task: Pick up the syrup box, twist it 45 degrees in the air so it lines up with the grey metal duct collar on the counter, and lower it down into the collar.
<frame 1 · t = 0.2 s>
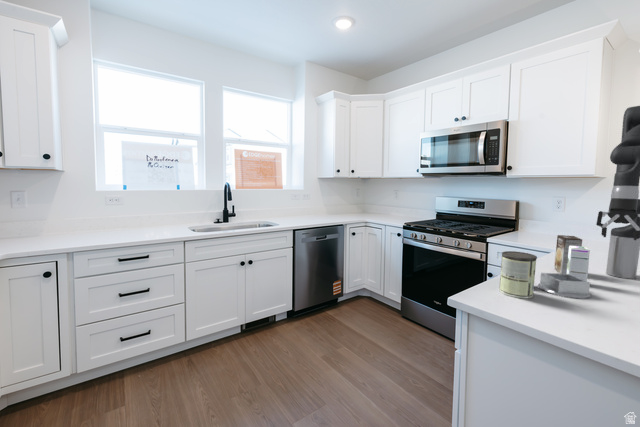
hand: (619, 238, 119), 18 cm above the table, tool pointing down, fingers open, 8 cm apart
coffee box: (565, 273, 133), on the table
coffee can: (515, 293, 107), on the table
duct collar: (562, 290, 110), on the table
syrup box: (575, 283, 119), on the table
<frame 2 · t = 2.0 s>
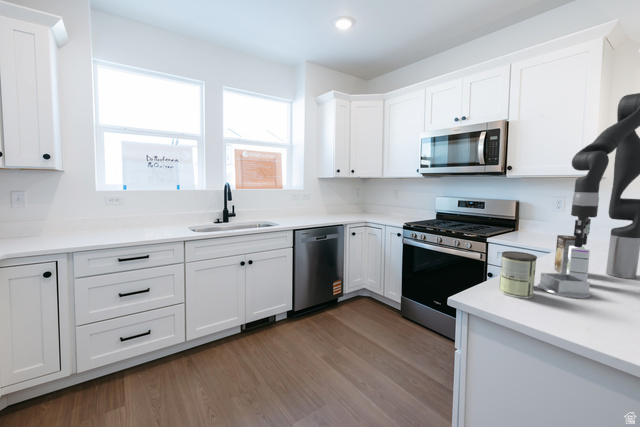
hand: (580, 245, 117), 15 cm above the table, tool pointing down, fingers open, 8 cm apart
nothing on the table moved.
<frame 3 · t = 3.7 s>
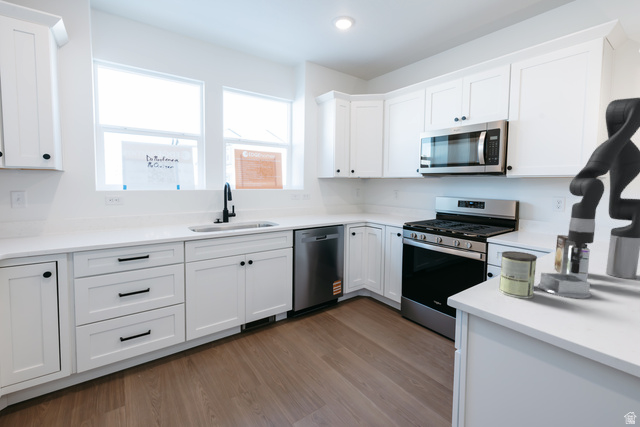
hand: (576, 271, 118), 5 cm above the table, tool pointing down, fingers closed on syrup box, 6 cm apart
syrup box: (575, 283, 119), on the table, touching gripper
everything else where it was.
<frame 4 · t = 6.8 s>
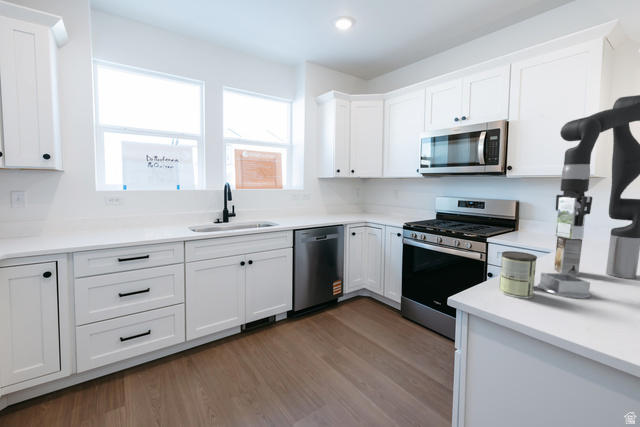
hand: (570, 224, 107), 25 cm above the table, tool pointing down, fingers closed on syrup box, 6 cm apart
syrup box: (568, 238, 108), point 20 cm above the table, touching gripper
everything else where it was.
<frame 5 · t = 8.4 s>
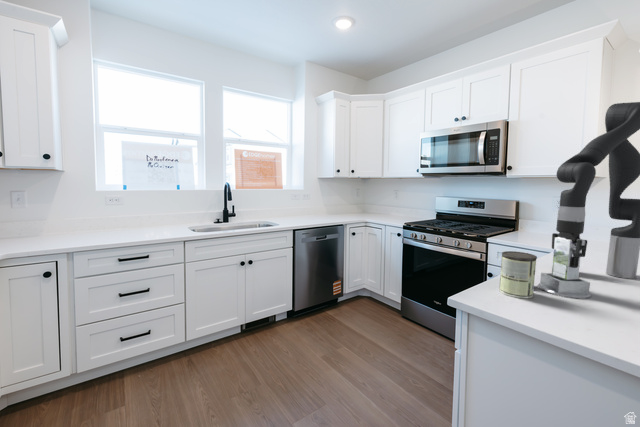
hand: (566, 264, 109), 10 cm above the table, tool pointing down, fingers closed on syrup box, 6 cm apart
syrup box: (564, 277, 109), point 5 cm above the table, touching gripper
everything else where it was.
when the fingers open (7 cm above the table, at t = 10.0 s): syrup box drops 1 cm, resting on duct collar.
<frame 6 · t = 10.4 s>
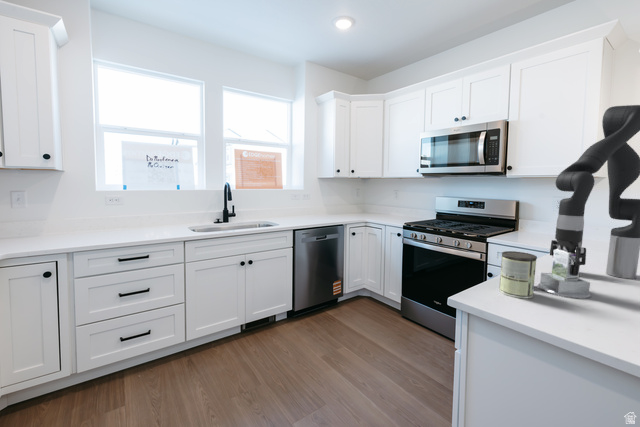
hand: (564, 271, 109), 7 cm above the table, tool pointing down, fingers open, 8 cm apart
syrup box: (563, 289, 110), resting on duct collar
everything else where it was.
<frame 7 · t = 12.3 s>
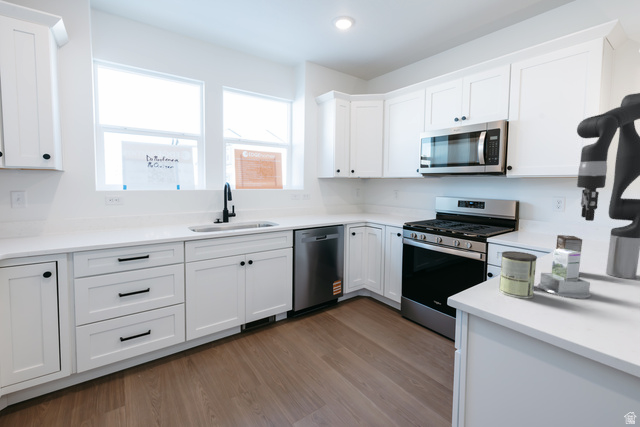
hand: (587, 218, 110), 26 cm above the table, tool pointing down, fingers open, 8 cm apart
nothing on the table moved.
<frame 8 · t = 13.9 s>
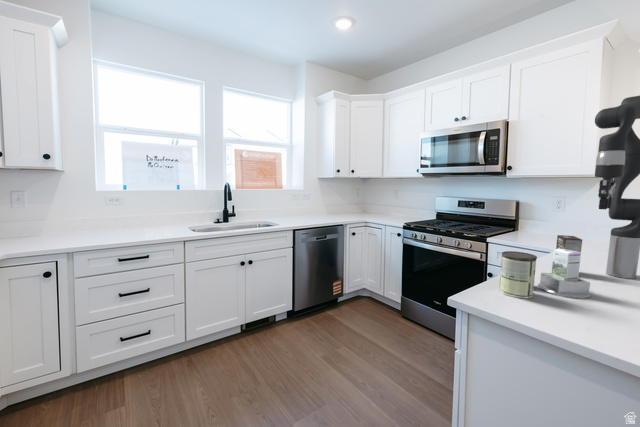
hand: (604, 208, 110), 30 cm above the table, tool pointing down, fingers open, 8 cm apart
nothing on the table moved.
at the end: syrup box 0.1 cm off-centre on the duct collar, point 0.3 cm above the duct collar's base; syrup box tilted 0°; the gripper is holding nothing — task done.
